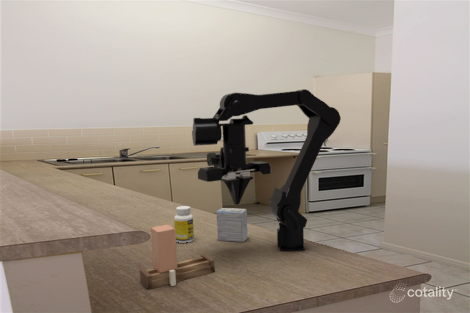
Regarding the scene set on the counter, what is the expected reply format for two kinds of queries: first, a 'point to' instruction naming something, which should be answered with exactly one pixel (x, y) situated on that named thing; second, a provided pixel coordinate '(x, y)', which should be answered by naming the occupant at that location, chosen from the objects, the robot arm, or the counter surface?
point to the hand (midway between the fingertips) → (236, 204)
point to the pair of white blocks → (172, 277)
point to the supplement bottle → (184, 225)
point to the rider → (164, 248)
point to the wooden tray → (178, 272)
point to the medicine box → (232, 224)
